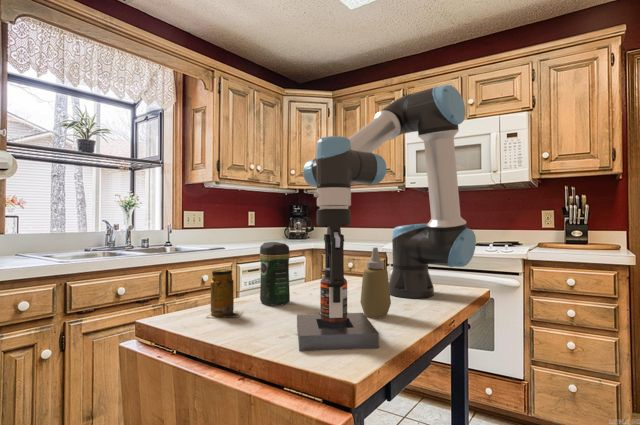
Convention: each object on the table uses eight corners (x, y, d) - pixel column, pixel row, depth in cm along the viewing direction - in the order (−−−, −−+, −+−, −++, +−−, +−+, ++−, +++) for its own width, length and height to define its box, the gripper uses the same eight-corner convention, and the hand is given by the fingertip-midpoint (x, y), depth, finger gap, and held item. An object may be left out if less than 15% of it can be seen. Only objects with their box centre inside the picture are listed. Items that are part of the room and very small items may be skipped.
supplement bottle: (314, 319, 85) (314, 268, 85) (335, 314, 89) (335, 265, 89) (331, 325, 80) (331, 271, 81) (353, 320, 84) (352, 268, 84)
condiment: (213, 311, 108) (213, 268, 108) (243, 311, 108) (243, 268, 108) (205, 318, 101) (205, 272, 101) (238, 318, 101) (237, 272, 101)
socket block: (363, 325, 93) (362, 312, 93) (378, 348, 77) (378, 333, 77) (297, 327, 92) (296, 314, 92) (299, 351, 76) (299, 335, 76)
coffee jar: (293, 304, 115) (293, 242, 115) (269, 307, 111) (269, 243, 111) (279, 298, 124) (279, 240, 124) (256, 301, 119) (256, 241, 119)
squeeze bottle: (388, 321, 97) (387, 249, 97) (356, 318, 99) (356, 248, 99) (393, 313, 104) (393, 246, 104) (364, 310, 107) (363, 246, 107)
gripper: (313, 208, 94) (313, 303, 94) (320, 207, 75) (320, 326, 75) (344, 208, 95) (344, 302, 94) (358, 207, 76) (359, 325, 76)
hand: (334, 313), depth 85 cm, fingers closed on supplement bottle, 6 cm apart
